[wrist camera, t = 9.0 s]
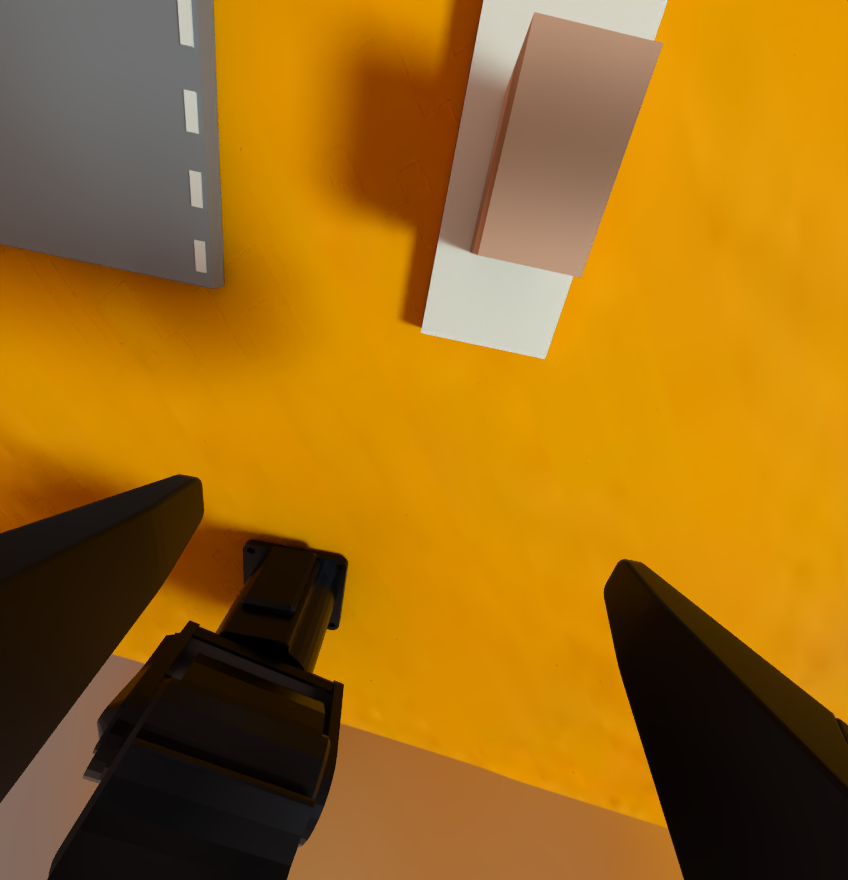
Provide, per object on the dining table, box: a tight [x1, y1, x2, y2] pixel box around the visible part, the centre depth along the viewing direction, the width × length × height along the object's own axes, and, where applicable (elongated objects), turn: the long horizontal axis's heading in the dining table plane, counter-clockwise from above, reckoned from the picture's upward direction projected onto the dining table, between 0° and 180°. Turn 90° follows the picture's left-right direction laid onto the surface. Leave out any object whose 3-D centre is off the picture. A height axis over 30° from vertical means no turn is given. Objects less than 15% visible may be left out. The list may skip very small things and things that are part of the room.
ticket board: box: [0, 0, 224, 289], centre depth 14 cm, size 12×12×1 cm
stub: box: [421, 0, 668, 359], centre depth 13 cm, size 12×6×6 cm, turn 169°
